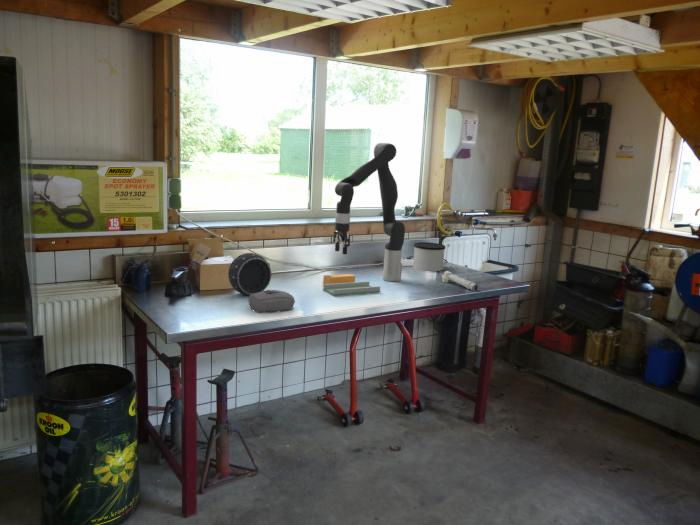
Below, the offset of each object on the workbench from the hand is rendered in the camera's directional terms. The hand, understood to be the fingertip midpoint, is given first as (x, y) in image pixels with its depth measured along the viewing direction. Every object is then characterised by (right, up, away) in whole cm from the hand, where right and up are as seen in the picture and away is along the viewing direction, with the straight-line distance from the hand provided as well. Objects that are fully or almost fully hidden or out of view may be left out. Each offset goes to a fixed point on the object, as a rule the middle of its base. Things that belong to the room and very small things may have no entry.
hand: (340, 252), depth 309 cm
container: (+53, -9, +57) cm, 78 cm away
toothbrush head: (+64, -18, +17) cm, 69 cm away
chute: (-1, -17, +3) cm, 17 cm away
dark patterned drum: (-43, -21, -26) cm, 54 cm away
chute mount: (+6, -20, -9) cm, 22 cm away
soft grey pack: (-29, -26, -46) cm, 60 cm away
